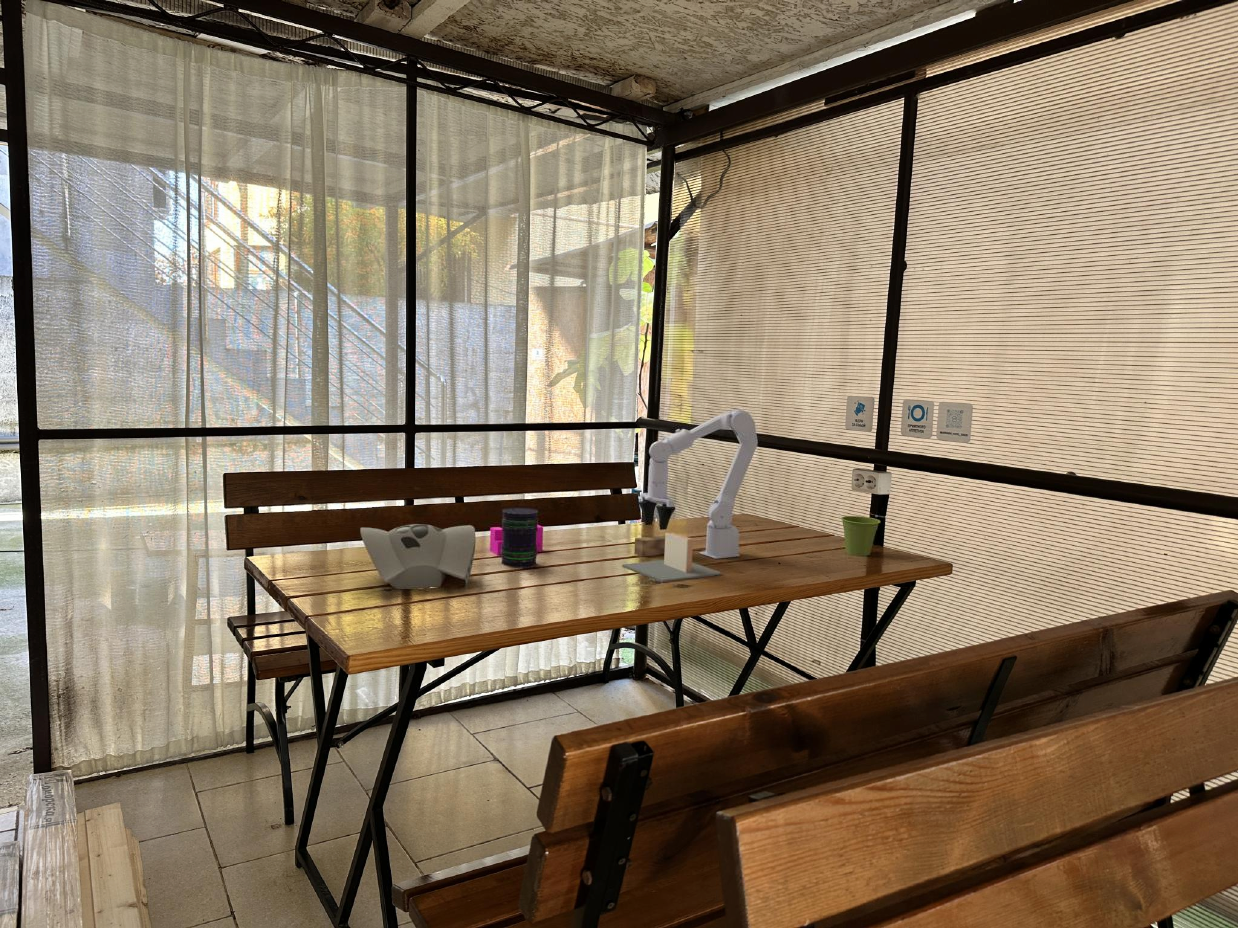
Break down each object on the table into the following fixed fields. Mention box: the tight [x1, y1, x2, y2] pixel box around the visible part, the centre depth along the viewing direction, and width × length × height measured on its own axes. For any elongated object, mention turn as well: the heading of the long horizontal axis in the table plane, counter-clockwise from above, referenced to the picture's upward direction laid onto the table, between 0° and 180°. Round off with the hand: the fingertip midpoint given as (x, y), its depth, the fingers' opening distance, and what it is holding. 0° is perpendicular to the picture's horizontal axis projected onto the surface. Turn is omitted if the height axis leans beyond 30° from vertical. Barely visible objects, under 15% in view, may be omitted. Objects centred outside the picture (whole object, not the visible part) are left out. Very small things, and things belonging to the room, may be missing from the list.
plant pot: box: [840, 515, 881, 557], centre depth 267 cm, size 12×12×11 cm
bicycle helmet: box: [359, 523, 477, 590], centre depth 213 cm, size 28×26×16 cm
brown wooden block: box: [634, 535, 665, 557], centre depth 257 cm, size 12×4×5 cm, turn 123°
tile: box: [663, 532, 694, 572], centre depth 237 cm, size 2×10×9 cm, turn 33°
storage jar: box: [500, 507, 539, 569], centre depth 236 cm, size 10×10×15 cm
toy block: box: [489, 524, 544, 556], centre depth 251 cm, size 15×6×8 cm, turn 118°
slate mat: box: [622, 559, 723, 583], centre depth 236 cm, size 20×19×1 cm
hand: (655, 527), depth 256 cm, fingers open, 7 cm apart
